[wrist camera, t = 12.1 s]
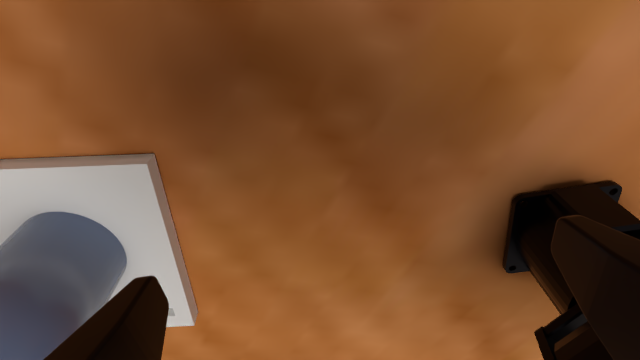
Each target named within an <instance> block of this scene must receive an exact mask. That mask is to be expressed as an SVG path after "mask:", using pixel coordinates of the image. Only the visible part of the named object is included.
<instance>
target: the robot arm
mask: <svg viewBox="0 0 640 360" xmlns="http://www.w3.org/2000/svg"><path fill="white" fill-rule="evenodd" d="M610 190H611V191H610ZM621 191H622V187H621V186H620V185H619V184H617V183H616V182H605V183H597V184H590V185H583V186H576V187H568V188H561V189H555V190H548V191H541V192H534V193H527V194H521V195H518V196H516V197H515V198H514V199H513V202H512V208H511V214H510V221H509V227H508V234H507V240H506V247H505V253H504V260H503V268H504V269H505V271H506V272H507V273H518V272H525V271H530V272H531V273H532V275H533V276H534V278H535V279H536V280H537V282H538V283H539V285H540V286H541V287H542V289H543V290H544V292H545V293H546V294H547V296H548V297H549V299H550V300H551V301H552V303H553V304H554V306H555V307H556V308H557V310H558V311H559V313H560V314H561V315H560V316H559V317H557V318H556V319H554V320H553V321H552V322H550V323H549V324H548V325H546V326H545V327H540V328H539V329H538V330H536V331H535V332H534V333H535V336H536V339H537V341H538V344H539V348H540V350H541V353H542V356H543V358H544V360H640V220H639V219H637V218H636V217H635V216H634V215H632V214H631V213H630V212H629V211H627V210H626V209H625V208H623V207H622V206H621V205H620V204H618V200H619V197H620V194H621ZM523 201H524V202H523ZM521 202H523V203H522V204H520V203H521ZM168 312H169V303H168V299H167V297H166V295H165V293H164V291H163V289H162V287H161V285H160V284H159V282H158V280H157V278H156V277H155V276H151V275H150V276H143V277H137V278H135V279H133V280H132V281H131V282H130V283H128V284H127V285H126V286H125V287H124V288H123V289H122V290H121V291H119V292H118V293H117V294H116V295H115V296H114V297H113V298H112V299H110V300H109V301H108V302H107V303H106V304H105V305H104V306H103V307H102V308H100V309H99V310H98V311H97V312H96V313H95V314H94V315H93V316H91V317H90V318H89V319H88V320H87V321H86V322H85V323H84V324H82V325H81V326H80V327H79V328H78V329H77V330H76V331H75V332H73V333H72V334H71V335H70V336H69V337H68V338H67V339H66V340H64V341H63V342H62V343H61V344H60V345H59V346H58V347H57V348H55V349H54V350H53V351H52V352H51V353H50V354H49V355H48V356H47V357H45V358H44V359H43V360H161V357H162V350H163V344H164V337H165V331H166V325H167V318H168Z"/></svg>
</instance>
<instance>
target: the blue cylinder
mask: <svg viewBox="0 0 640 360" xmlns="http://www.w3.org/2000/svg"><path fill="white" fill-rule="evenodd" d="M126 265H127V257H126V253H125V250H124V248H123V246H122V244H121V243H120V241H119V240H118V239H117V237H116V236H115V235H114V234H113V233H112V232H110V231H109V230H108V229H107V228H105V227H104V226H103V225H101V224H99V223H98V222H96V221H94V220H92V219H89V218H87V217H84V216H81V215H78V214H74V213H68V212H46V213H41V214H38V215H35V216H33V217H30V218H29V219H27V220H26V221H25V222H24V223H23V224H22V225H21V226H20V227H19V228H18V229H17V230H15V231H14V232H13V233H12V234H11V235H10V236H9V237H8V238H7V239H6V240H5V241H4V242H3V243H2V244H1V245H0V360H43V359H44V358H45V357H47V356H48V355H49V354H50V353H51V352H52V351H53V350H54V349H55V348H57V347H58V346H59V345H60V344H61V343H62V342H63V341H64V340H66V339H67V338H68V337H69V336H70V335H71V334H72V333H73V332H75V331H76V330H77V329H78V328H79V327H80V326H81V325H82V324H84V323H85V322H86V321H87V320H88V319H89V318H90V317H91V316H93V315H94V314H95V313H96V312H97V311H98V310H99V309H100V308H102V307H103V306H104V305H105V304H106V303H107V302H108V301H109V299H110V297H111V295H112V294H113V292H114V290H115V288H116V286H117V285H118V283H119V281H120V279H121V277H122V276H123V274H124V272H125V269H126Z"/></svg>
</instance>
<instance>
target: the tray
mask: <svg viewBox="0 0 640 360" xmlns="http://www.w3.org/2000/svg"><path fill="white" fill-rule="evenodd" d="M46 212H68V213H74V214H78V215H81V216H84V217H87V218H89V219H92V220H94V221H96V222H98V223H99V224H101V225H103V226H104V227H105V228H107V229H108V230H109V231H110V232H112V233H113V234H114V235H115V236H116V237H117V239H118V240H119V241H120V243H121V244H122V246H123V248H124V250H125V253H126V257H127V265H126V269H125V272H124V274H123V276H122V277H121V279H120V281H119V283H118V285H117V286H116V288H115V290H114V292H113V294H112V295H111V297H110V299H112V298H113V297H114V296H115V295H116V294H117V293H118V292H119V291H121V290H122V289H123V288H124V287H125V286H126V285H127V284H128V283H130V282H131V281H132V280H133V279H135V278H137V277H143V276H150V275H151V276H155V277H156V278H157V280H158V282H159V284H160V285H161V287H162V289H163V291H164V293H165V295H166V297H167V299H168V303H169V312H168V318H167V325H166V327H176V326H194V325H195V321H196V317H197V314H198V310H197V306H196V303H195V299H194V295H193V292H192V288H191V285H190V281H189V277H188V274H187V270H186V267H185V263H184V259H183V256H182V252H181V249H180V245H179V241H178V238H177V234H176V230H175V227H174V223H173V220H172V216H171V212H170V209H169V205H168V202H167V198H166V194H165V191H164V187H163V184H162V180H161V176H160V173H159V169H158V166H157V162H156V158H155V155H154V154H129V155H102V156H76V157H49V158H22V159H0V245H1V244H2V243H3V242H4V241H5V240H6V239H7V238H8V237H9V236H10V235H11V234H12V233H13V232H14V231H15V230H17V229H18V228H19V227H20V226H21V225H22V224H23V223H24V222H25V221H26V220H27V219H29V218H30V217H33V216H35V215H38V214H41V213H46ZM110 299H109V300H110Z"/></svg>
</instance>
